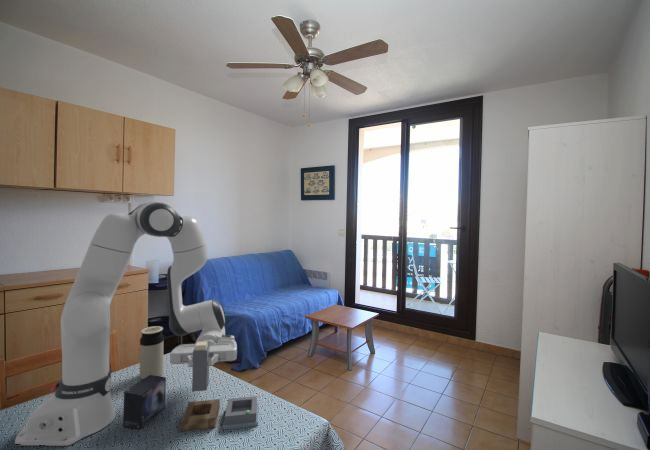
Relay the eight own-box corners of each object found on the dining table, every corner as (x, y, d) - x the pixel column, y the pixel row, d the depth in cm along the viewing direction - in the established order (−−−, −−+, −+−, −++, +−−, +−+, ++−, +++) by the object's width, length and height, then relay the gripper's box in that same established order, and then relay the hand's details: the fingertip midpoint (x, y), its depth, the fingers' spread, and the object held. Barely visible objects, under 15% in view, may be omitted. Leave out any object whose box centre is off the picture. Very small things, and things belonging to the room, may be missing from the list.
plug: (192, 391, 91) (193, 346, 91) (194, 384, 95) (196, 341, 95) (206, 390, 92) (207, 345, 92) (208, 383, 96) (209, 340, 96)
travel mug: (167, 373, 121) (167, 328, 120) (147, 382, 114) (147, 334, 114) (156, 368, 125) (156, 324, 125) (135, 376, 118) (135, 330, 118)
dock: (222, 429, 89) (222, 416, 89) (226, 408, 99) (226, 396, 99) (257, 425, 91) (258, 412, 91) (258, 405, 101) (258, 393, 101)
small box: (140, 430, 88) (141, 394, 88) (121, 427, 90) (122, 391, 90) (166, 408, 99) (167, 376, 99) (149, 405, 100) (149, 374, 100)
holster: (180, 431, 88) (180, 421, 88) (188, 411, 97) (188, 402, 97) (215, 427, 90) (215, 417, 90) (219, 408, 99) (219, 399, 99)
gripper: (176, 338, 104) (163, 355, 90) (238, 335, 108) (235, 351, 94) (175, 356, 104) (162, 376, 90) (238, 353, 108) (234, 372, 95)
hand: (200, 364), depth 92 cm, fingers closed on plug, 4 cm apart
